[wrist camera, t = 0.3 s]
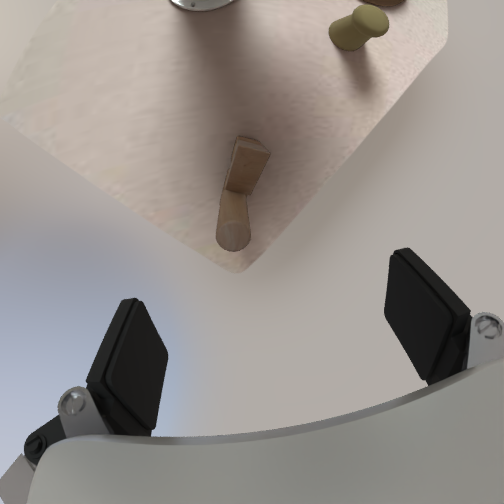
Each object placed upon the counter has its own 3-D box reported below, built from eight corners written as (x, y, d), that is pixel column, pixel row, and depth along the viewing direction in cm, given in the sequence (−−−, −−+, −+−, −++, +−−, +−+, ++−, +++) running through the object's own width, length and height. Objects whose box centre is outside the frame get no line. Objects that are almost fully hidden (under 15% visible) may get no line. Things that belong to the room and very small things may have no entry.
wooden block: (259, 141, 41) (276, 157, 25) (241, 204, 46) (246, 257, 30) (236, 135, 40) (237, 147, 24) (219, 199, 45) (211, 250, 29)
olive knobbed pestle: (339, 13, 31) (367, -9, 21) (368, 35, 33) (402, 20, 23) (321, 35, 33) (347, 16, 23) (352, 57, 35) (384, 45, 25)
